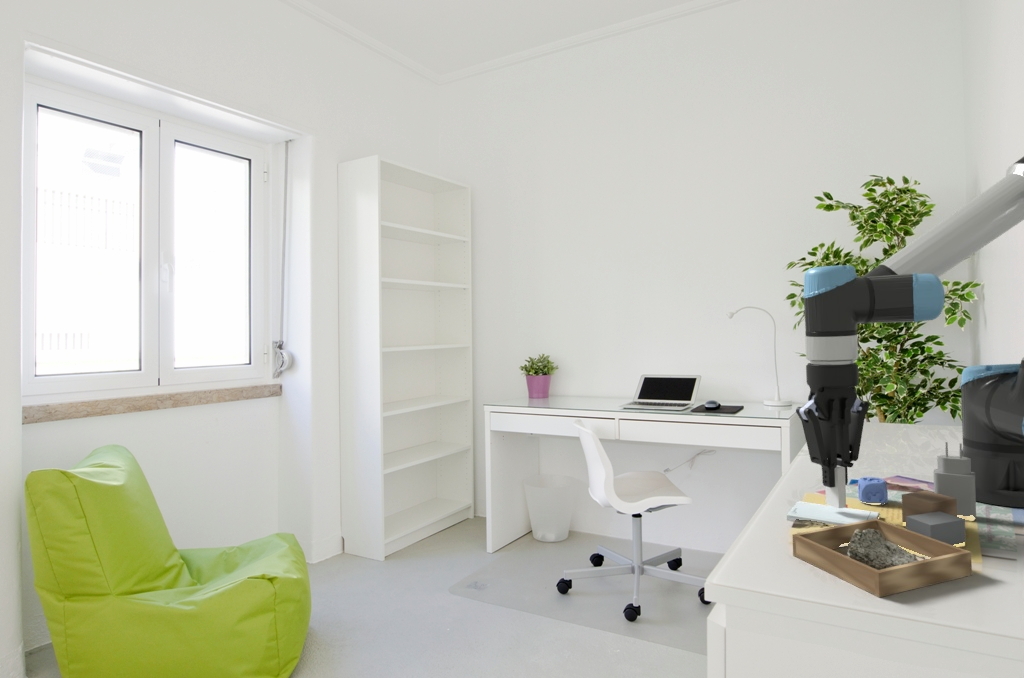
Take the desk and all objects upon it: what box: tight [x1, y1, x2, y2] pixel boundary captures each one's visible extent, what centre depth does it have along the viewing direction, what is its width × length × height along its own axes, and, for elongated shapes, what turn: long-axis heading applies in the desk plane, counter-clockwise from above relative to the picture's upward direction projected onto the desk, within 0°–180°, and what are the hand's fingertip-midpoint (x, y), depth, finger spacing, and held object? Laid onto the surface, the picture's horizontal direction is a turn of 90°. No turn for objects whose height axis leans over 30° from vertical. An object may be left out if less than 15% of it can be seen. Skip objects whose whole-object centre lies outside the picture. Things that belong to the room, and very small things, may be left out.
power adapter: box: [933, 441, 977, 519], centre depth 100 cm, size 3×5×12 cm, turn 53°
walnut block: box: [901, 489, 957, 522], centre depth 96 cm, size 5×5×5 cm
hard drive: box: [786, 501, 881, 526], centre depth 102 cm, size 2×8×12 cm
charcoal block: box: [906, 511, 966, 545], centre depth 90 cm, size 6×4×4 cm, turn 103°
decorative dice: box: [857, 476, 889, 504], centre depth 109 cm, size 4×4×4 cm
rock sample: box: [845, 526, 920, 570], centre depth 82 cm, size 10×8×9 cm
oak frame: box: [792, 518, 973, 598], centre depth 84 cm, size 15×14×3 cm
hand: (835, 505), depth 102 cm, fingers closed
